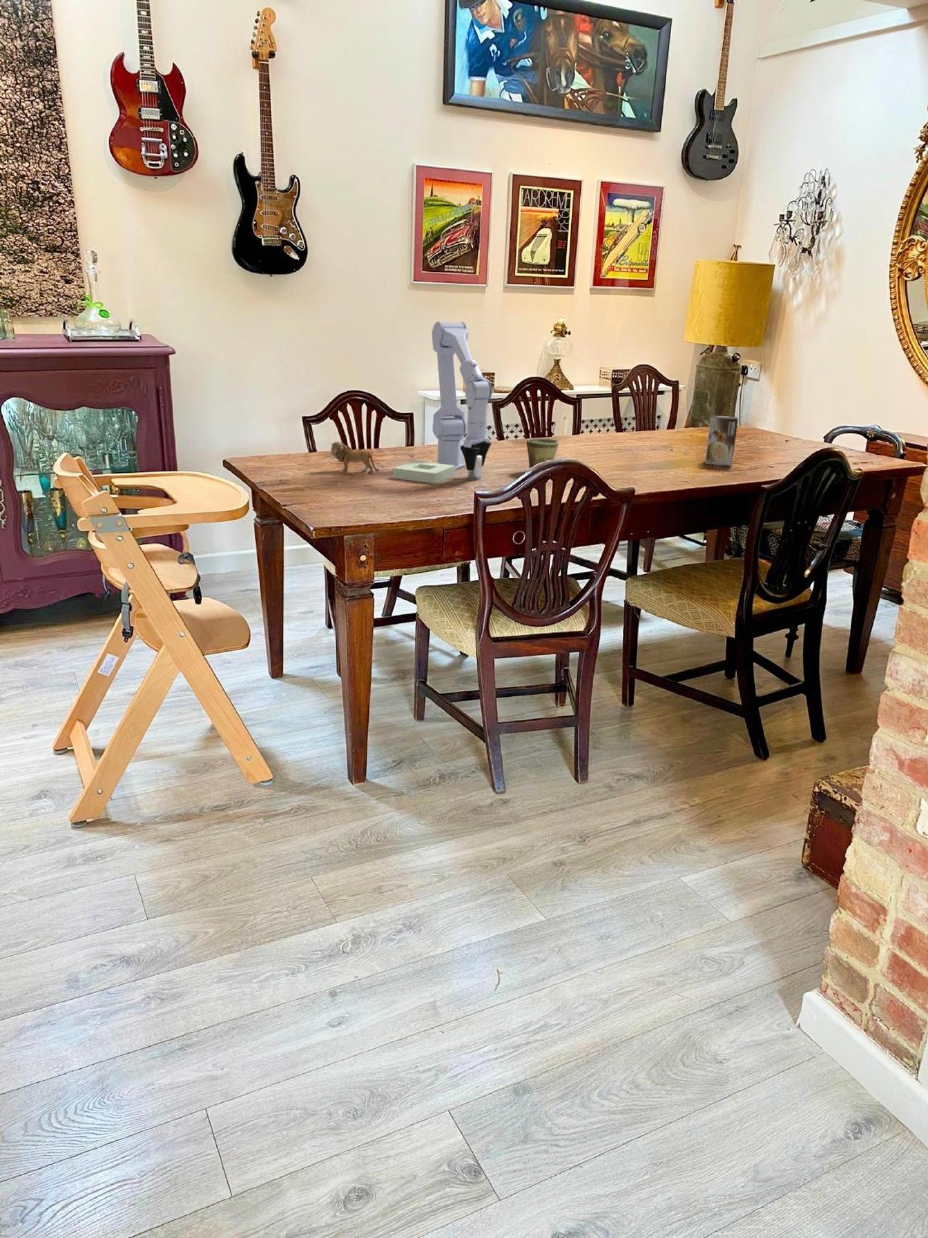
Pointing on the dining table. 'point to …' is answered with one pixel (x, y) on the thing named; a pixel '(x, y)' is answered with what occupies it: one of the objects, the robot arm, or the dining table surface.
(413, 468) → the socket block
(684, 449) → the dining table surface
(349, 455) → the lion figurine
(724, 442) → the coffee box
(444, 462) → the robot arm
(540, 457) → the ceramic cup
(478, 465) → the peg
